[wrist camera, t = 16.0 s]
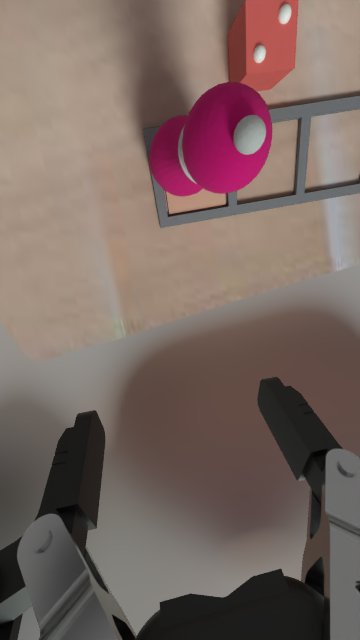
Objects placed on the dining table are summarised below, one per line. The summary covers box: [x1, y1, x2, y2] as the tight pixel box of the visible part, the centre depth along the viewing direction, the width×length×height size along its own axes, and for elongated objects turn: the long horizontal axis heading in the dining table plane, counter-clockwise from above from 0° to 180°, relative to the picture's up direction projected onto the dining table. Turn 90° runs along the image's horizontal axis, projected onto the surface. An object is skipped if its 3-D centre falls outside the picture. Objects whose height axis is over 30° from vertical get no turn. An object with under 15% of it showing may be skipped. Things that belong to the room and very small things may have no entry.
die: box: [228, 0, 298, 91], centre depth 24 cm, size 5×5×6 cm
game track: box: [143, 96, 360, 228], centre depth 31 cm, size 31×11×1 cm, turn 99°
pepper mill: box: [149, 82, 272, 197], centre depth 21 cm, size 7×7×20 cm
